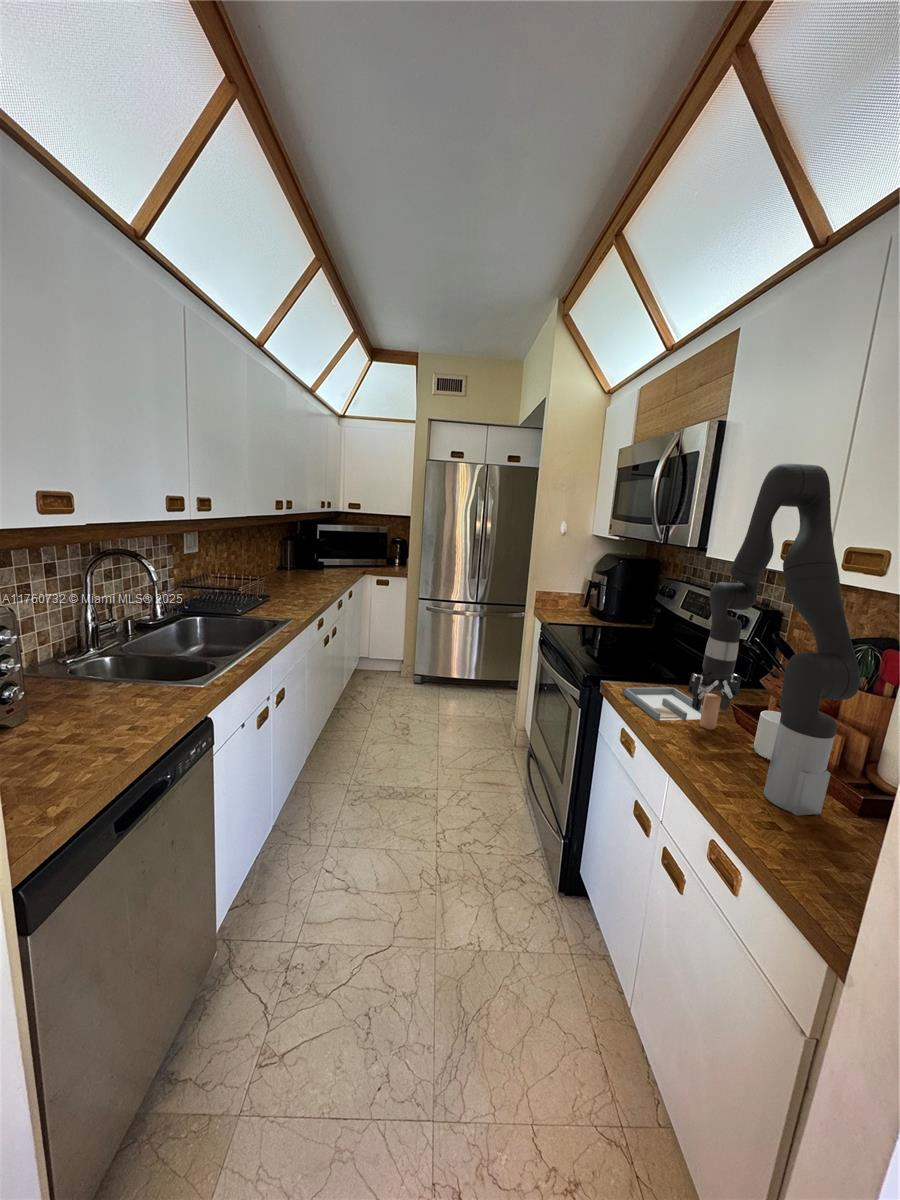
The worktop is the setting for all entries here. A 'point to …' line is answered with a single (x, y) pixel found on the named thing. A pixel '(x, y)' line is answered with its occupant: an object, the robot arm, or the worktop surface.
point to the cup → (766, 733)
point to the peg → (710, 711)
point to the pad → (666, 713)
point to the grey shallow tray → (663, 702)
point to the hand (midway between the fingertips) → (709, 709)
